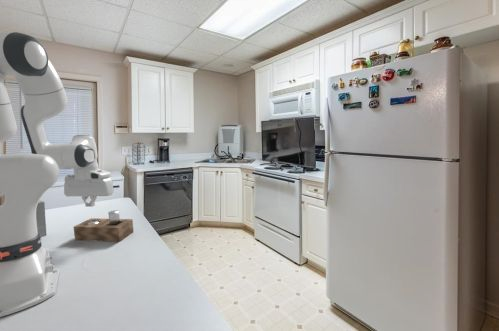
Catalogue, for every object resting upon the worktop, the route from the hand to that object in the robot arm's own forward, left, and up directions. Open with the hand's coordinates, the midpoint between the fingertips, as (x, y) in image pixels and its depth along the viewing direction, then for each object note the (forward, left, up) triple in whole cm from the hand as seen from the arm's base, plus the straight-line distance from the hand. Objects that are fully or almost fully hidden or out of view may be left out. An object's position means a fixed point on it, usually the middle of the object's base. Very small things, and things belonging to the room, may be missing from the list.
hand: (90, 206), depth 108 cm
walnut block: (-3, -4, -14) cm, 14 cm away
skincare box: (+20, +18, -14) cm, 30 cm away
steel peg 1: (+1, -1, -14) cm, 14 cm away
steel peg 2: (-7, -7, -9) cm, 13 cm away
